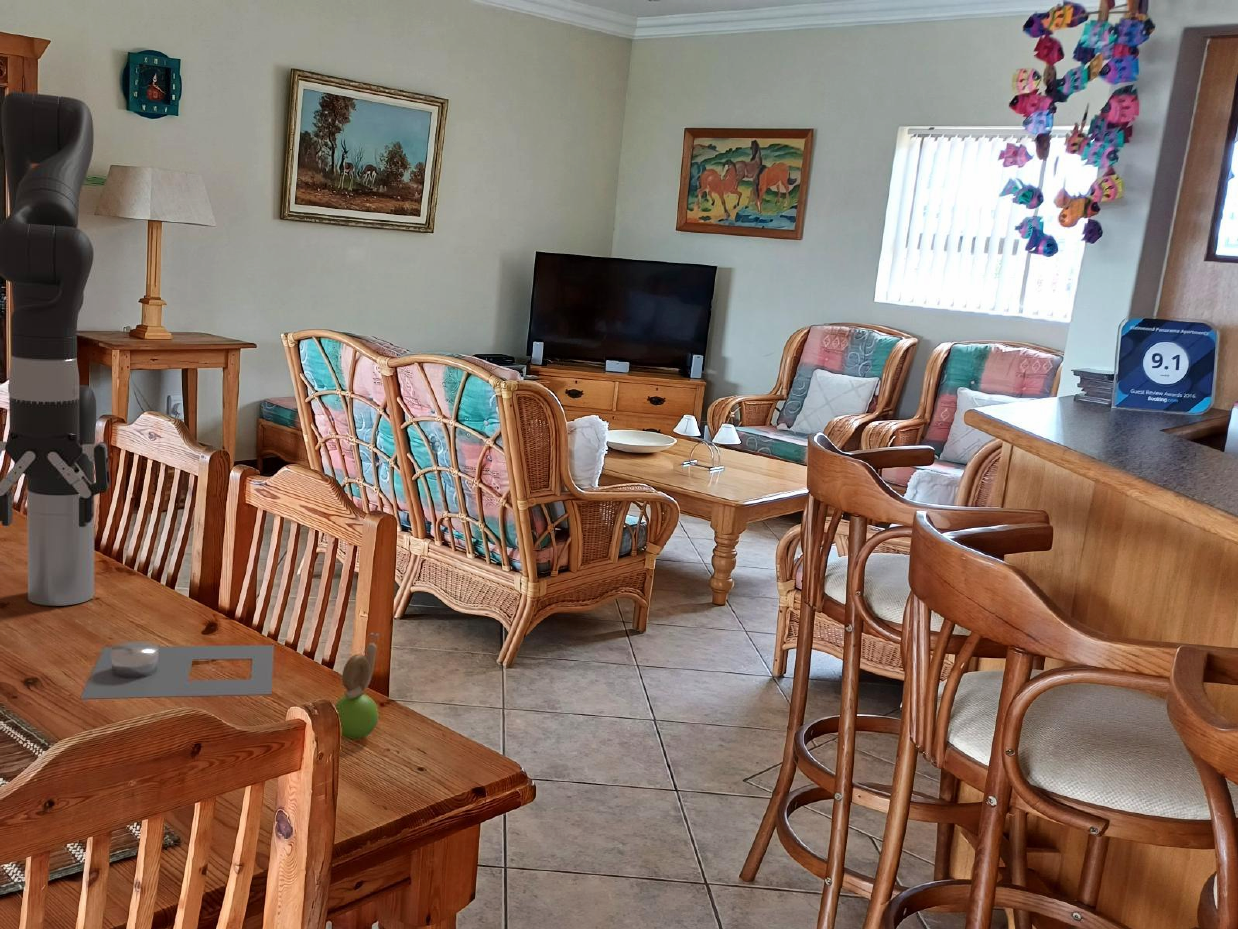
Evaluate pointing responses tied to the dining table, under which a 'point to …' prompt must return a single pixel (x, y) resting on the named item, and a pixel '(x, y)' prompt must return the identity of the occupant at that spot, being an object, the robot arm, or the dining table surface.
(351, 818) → the dining table surface
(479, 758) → the dining table surface
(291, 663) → the dining table surface
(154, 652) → the silver rounded puck
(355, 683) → the green toy figure
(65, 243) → the robot arm
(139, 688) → the charcoal board
